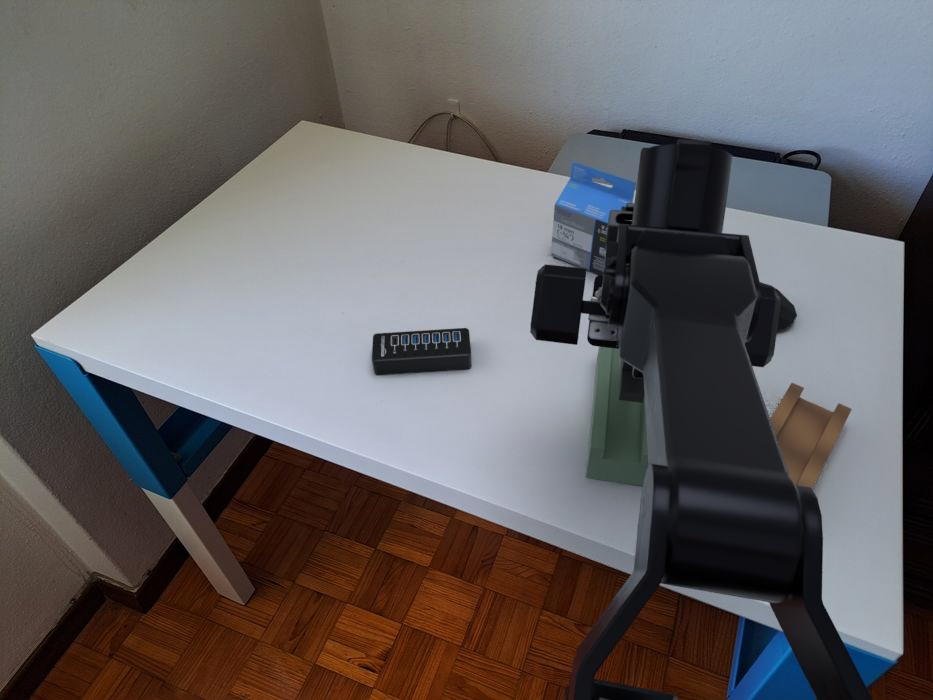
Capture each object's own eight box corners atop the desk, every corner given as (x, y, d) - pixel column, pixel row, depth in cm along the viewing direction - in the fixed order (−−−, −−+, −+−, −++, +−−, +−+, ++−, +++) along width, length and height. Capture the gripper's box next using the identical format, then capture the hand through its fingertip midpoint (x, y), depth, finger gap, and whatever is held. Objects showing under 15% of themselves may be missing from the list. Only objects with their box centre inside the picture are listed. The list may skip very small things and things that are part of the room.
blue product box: (548, 256, 90) (554, 174, 81) (563, 241, 93) (570, 160, 84) (609, 280, 87) (622, 197, 78) (623, 264, 89) (637, 181, 80)
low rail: (786, 538, 61) (794, 524, 60) (722, 503, 64) (728, 488, 62) (842, 424, 70) (852, 408, 68) (784, 397, 73) (791, 382, 71)
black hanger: (642, 403, 63) (663, 314, 55) (618, 400, 64) (635, 311, 55) (645, 342, 69) (664, 253, 61) (622, 339, 69) (639, 251, 61)
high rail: (648, 487, 66) (657, 457, 62) (585, 477, 66) (590, 447, 63) (651, 366, 76) (658, 334, 73) (596, 359, 77) (601, 327, 74)
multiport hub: (471, 369, 77) (471, 354, 75) (374, 375, 77) (371, 361, 75) (469, 341, 80) (468, 327, 78) (375, 347, 80) (372, 333, 78)
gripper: (818, 207, 46) (759, 241, 61) (541, 184, 49) (551, 222, 64) (796, 371, 46) (742, 364, 62) (522, 338, 49) (536, 339, 65)
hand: (641, 318), depth 63 cm, fingers closed on black hanger, 2 cm apart
